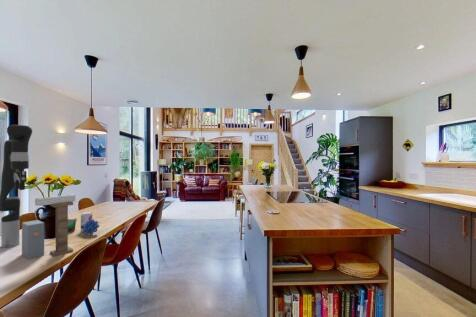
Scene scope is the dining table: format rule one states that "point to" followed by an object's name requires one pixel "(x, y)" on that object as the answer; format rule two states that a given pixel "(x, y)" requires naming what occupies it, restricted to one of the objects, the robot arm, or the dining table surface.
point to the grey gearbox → (32, 239)
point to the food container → (71, 224)
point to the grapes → (90, 227)
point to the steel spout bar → (54, 200)
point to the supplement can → (85, 218)
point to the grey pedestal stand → (61, 229)
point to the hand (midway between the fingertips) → (19, 189)
